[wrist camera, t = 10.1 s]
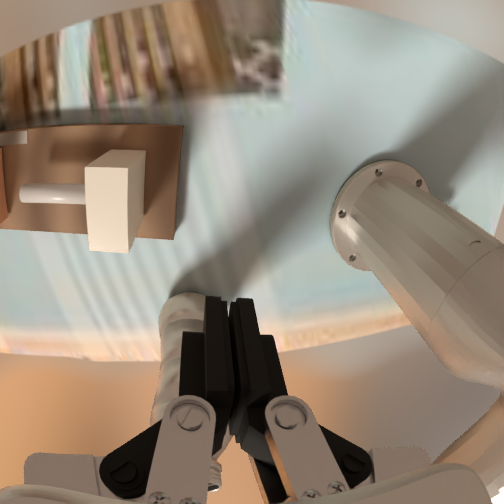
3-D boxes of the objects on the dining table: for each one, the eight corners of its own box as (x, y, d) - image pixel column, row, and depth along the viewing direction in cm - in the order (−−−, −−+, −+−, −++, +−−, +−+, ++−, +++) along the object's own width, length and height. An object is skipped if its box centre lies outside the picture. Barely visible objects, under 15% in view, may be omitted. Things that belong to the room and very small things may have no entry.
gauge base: (183, 125, 23) (173, 138, 16) (174, 232, 28) (166, 281, 21) (-38, 137, 18) (-86, 157, 11) (-29, 221, 23) (-68, 255, 16)
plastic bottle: (160, 281, 30) (138, 471, 13) (224, 286, 32) (251, 474, 14) (160, 326, 33) (150, 494, 16) (218, 330, 35) (236, 496, 17)
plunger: (146, 150, 22) (128, 168, 17) (143, 218, 25) (128, 253, 20) (36, 150, 20) (-1, 169, 15) (41, 213, 23) (10, 243, 18)
